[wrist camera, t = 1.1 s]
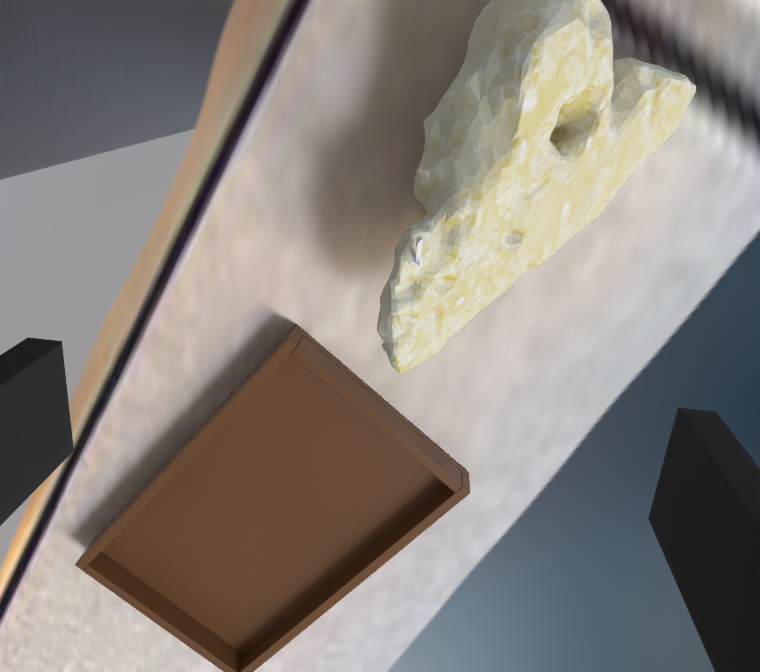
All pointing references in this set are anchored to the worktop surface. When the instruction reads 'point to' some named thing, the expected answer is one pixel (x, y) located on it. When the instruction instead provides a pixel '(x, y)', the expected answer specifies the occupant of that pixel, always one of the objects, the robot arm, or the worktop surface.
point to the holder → (274, 509)
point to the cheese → (519, 161)
